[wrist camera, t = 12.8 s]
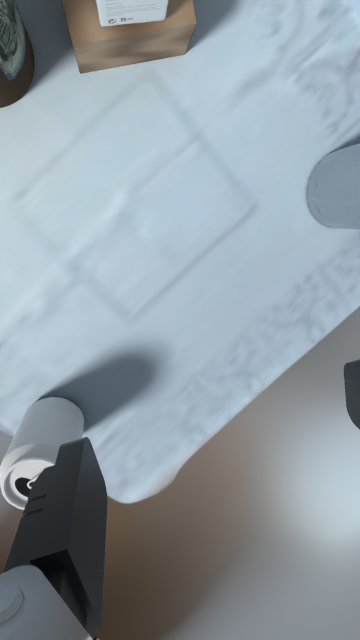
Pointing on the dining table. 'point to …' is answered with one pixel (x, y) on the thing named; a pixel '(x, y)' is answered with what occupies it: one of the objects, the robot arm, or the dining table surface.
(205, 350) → the dining table surface
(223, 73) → the dining table surface
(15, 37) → the olive oil
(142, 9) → the skincare box
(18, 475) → the can
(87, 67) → the walnut block
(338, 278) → the dining table surface
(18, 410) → the dining table surface
